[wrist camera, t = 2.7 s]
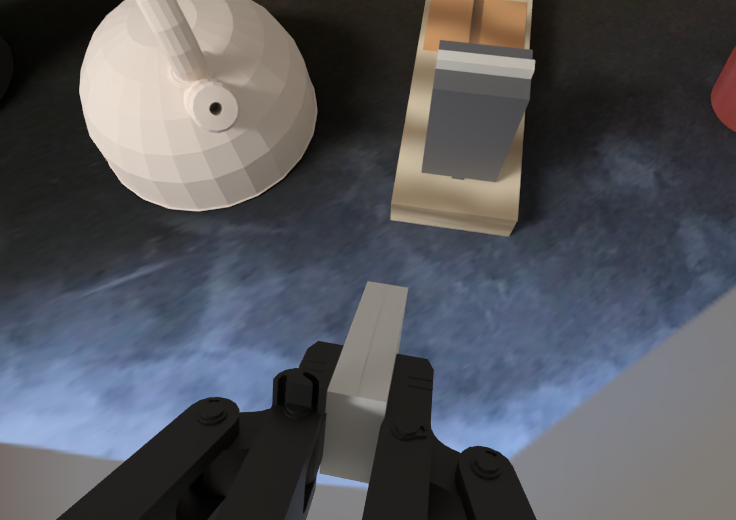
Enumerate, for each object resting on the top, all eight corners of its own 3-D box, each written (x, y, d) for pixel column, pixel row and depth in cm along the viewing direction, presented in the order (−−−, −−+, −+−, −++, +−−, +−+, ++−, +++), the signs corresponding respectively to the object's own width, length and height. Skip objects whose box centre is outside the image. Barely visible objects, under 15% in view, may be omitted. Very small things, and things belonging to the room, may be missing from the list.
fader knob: (495, 182, 40) (533, 90, 30) (421, 172, 41) (433, 79, 31) (499, 140, 42) (536, 40, 32) (427, 131, 42) (441, 30, 32)
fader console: (508, 236, 42) (518, 220, 39) (390, 220, 43) (391, 202, 40) (525, 6, 51) (534, -20, 48) (428, -3, 52) (430, -30, 49)
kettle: (154, 257, 42) (3, 126, 26) (74, 90, 49) (-87, -100, 32) (359, 148, 46) (346, -31, 29) (258, 6, 53) (199, -206, 36)
